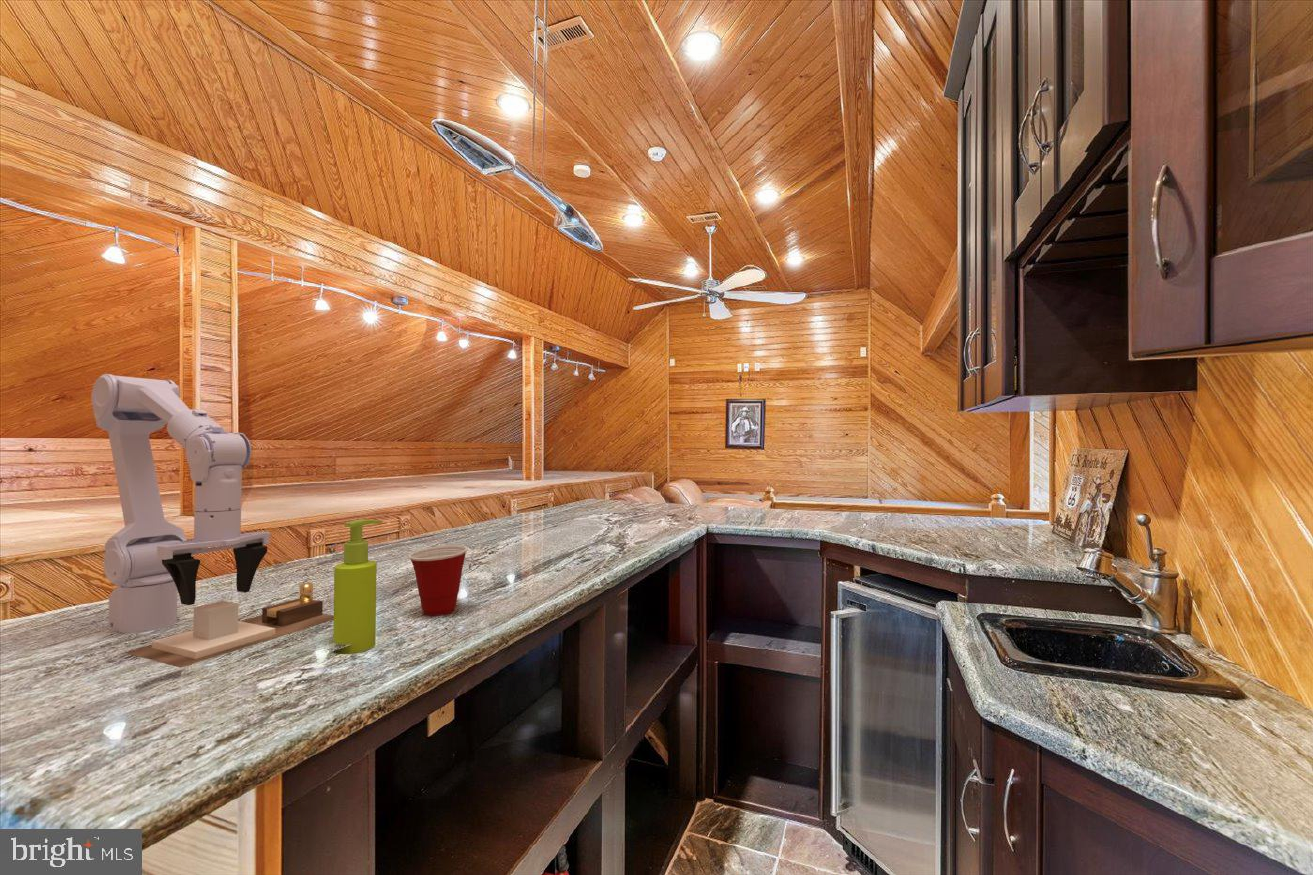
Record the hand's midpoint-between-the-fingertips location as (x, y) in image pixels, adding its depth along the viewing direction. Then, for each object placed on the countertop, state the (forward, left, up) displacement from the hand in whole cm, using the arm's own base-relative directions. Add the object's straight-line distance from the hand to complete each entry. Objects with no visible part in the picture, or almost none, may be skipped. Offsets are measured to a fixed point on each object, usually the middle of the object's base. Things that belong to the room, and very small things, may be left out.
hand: (216, 597), depth 84 cm
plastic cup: (+16, +29, -8) cm, 34 cm away
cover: (0, 0, -7) cm, 7 cm away
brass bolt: (0, +12, -5) cm, 13 cm away
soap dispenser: (+18, +10, -8) cm, 23 cm away
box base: (0, +4, -8) cm, 9 cm away
